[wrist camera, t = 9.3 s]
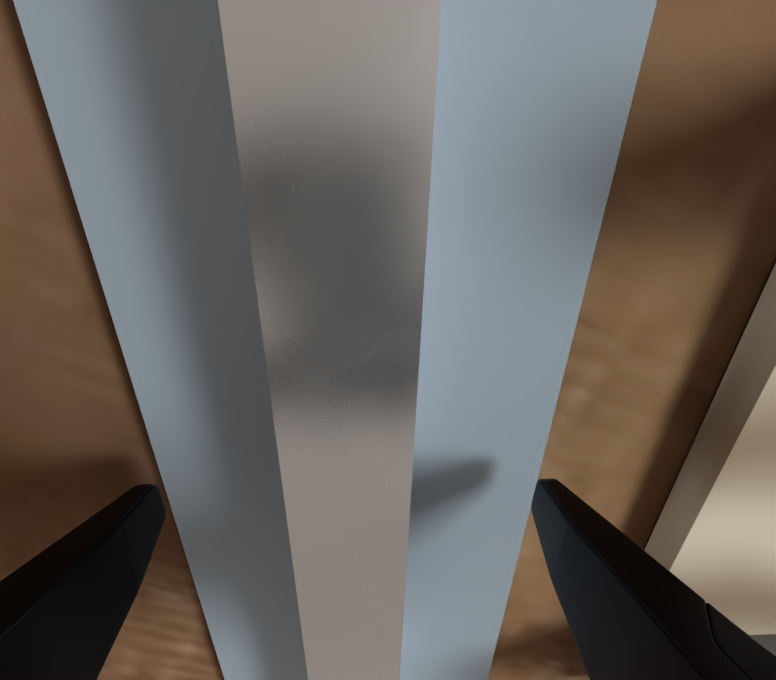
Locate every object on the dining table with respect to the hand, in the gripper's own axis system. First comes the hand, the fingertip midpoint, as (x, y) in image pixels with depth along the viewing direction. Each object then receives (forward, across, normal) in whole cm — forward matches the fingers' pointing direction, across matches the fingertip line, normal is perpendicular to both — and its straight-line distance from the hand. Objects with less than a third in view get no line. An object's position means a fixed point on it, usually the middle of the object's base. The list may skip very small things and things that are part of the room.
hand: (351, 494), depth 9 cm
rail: (+1, 0, 0) cm, 1 cm away
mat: (+2, 0, 0) cm, 2 cm away
